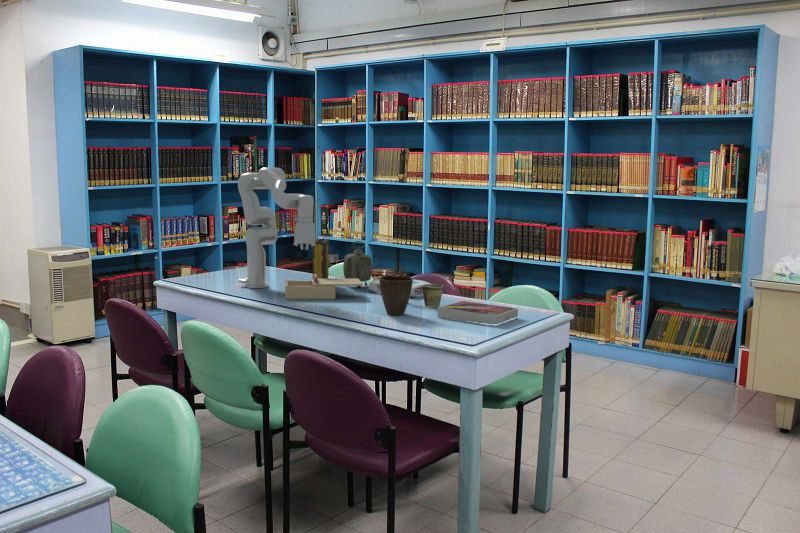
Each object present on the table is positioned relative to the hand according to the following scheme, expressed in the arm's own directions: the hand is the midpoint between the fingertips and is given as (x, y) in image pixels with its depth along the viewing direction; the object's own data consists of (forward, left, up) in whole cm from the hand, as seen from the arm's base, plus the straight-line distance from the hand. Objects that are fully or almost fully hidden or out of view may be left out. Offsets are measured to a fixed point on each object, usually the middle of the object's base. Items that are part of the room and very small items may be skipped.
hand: (304, 257), depth 350 cm
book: (+10, +30, -20) cm, 37 cm away
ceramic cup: (+60, -27, -20) cm, 69 cm away
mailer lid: (+16, 0, -13) cm, 21 cm away
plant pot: (+39, -45, -20) cm, 63 cm away
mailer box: (+3, 0, -19) cm, 20 cm away
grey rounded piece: (+30, +28, -20) cm, 45 cm away
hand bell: (+46, -15, -20) cm, 52 cm away
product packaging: (+74, -55, -20) cm, 95 cm away
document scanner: (+51, +10, -20) cm, 55 cm away
